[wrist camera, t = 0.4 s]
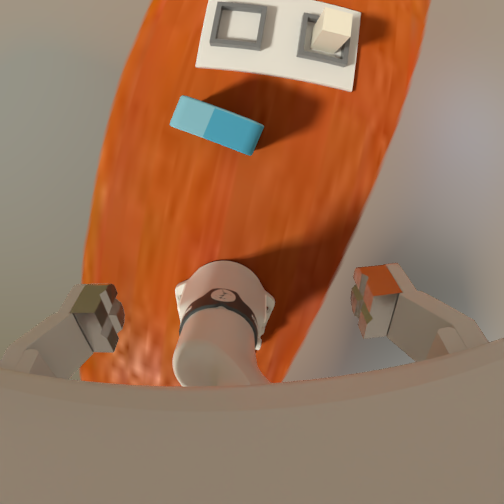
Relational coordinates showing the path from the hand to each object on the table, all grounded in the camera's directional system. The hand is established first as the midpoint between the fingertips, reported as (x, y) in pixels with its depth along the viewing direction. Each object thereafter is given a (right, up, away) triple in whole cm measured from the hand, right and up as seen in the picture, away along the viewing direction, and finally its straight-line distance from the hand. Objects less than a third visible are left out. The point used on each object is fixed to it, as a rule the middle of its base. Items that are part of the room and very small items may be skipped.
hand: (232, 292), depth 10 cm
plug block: (+12, +36, +33) cm, 50 cm away
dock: (+5, +37, +33) cm, 50 cm away
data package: (-4, +22, +39) cm, 45 cm away
